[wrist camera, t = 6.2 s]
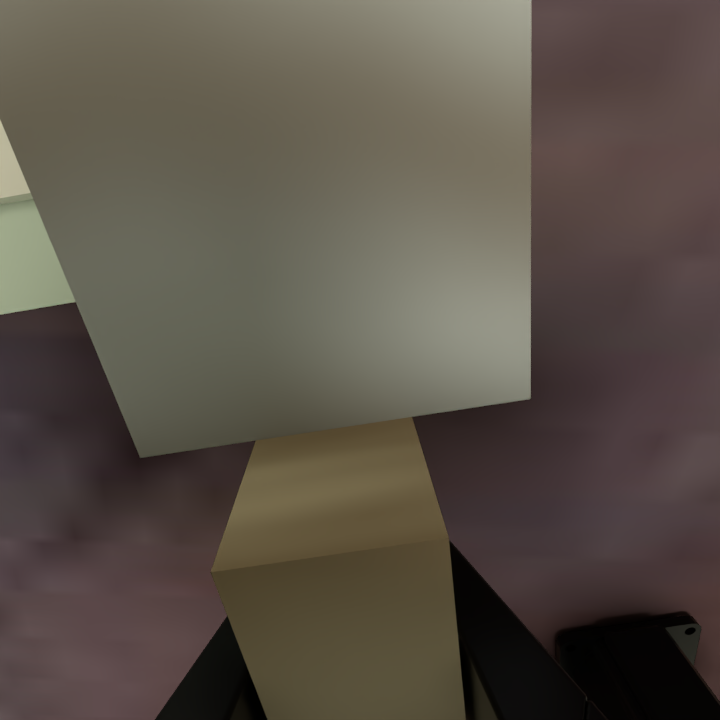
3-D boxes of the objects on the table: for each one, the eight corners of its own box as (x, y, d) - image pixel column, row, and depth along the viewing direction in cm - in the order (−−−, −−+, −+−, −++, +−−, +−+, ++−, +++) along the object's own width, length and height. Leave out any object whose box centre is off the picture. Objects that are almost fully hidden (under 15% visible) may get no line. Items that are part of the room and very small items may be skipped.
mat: (243, 272, 13) (240, 274, 13) (-34, 318, 14) (-44, 321, 13) (94, -299, 9) (83, -320, 9) (-315, -215, 9) (-343, -233, 9)
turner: (520, 744, 13) (581, 936, 9) (287, 775, 13) (269, 976, 10) (505, -344, 5) (862, -1498, 1) (-102, -229, 5) (-988, -1061, 2)
